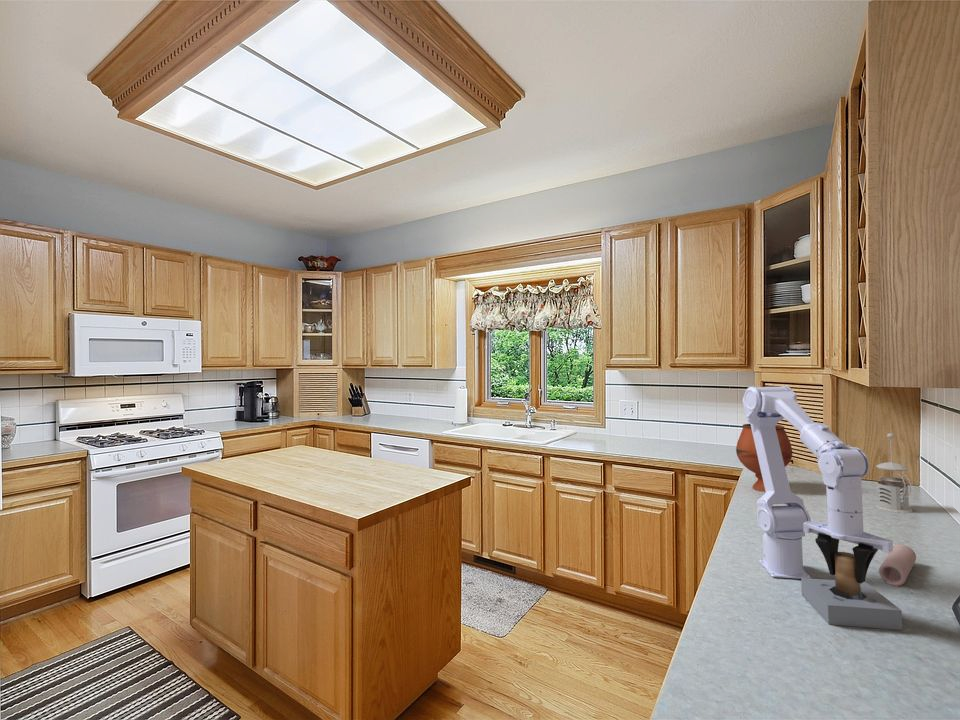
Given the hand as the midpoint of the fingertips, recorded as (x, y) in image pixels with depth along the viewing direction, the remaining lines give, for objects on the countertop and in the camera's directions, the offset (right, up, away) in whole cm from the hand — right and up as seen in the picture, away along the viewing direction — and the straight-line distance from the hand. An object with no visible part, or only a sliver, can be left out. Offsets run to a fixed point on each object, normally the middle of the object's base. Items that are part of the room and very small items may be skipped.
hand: (847, 577), depth 97 cm
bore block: (0, -7, 0) cm, 7 cm away
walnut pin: (0, -3, 0) cm, 3 cm away
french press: (+64, -6, +64) cm, 90 cm away
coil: (+24, -7, +17) cm, 30 cm away
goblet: (+38, -7, +93) cm, 101 cm away
